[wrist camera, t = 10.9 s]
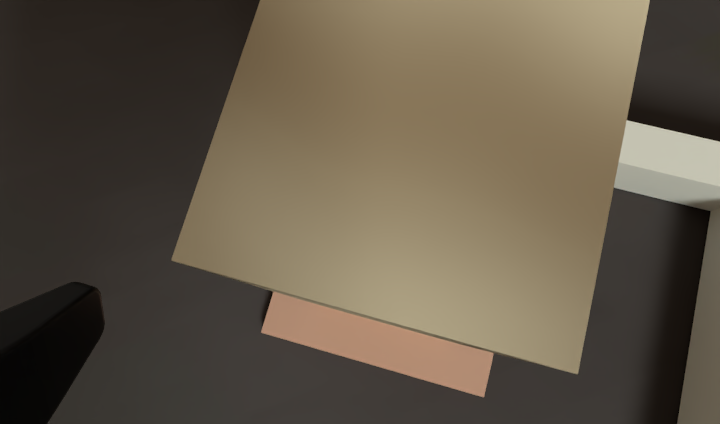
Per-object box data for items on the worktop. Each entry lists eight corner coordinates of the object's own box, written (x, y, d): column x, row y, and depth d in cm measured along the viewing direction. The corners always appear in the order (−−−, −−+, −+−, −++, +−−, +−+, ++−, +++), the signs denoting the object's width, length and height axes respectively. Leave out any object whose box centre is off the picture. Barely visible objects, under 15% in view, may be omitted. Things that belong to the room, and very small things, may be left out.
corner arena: (714, 746, 17) (770, 819, 14) (193, 567, 18) (162, 603, 16) (787, 189, 20) (843, 170, 17) (339, 83, 22) (333, 52, 19)
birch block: (451, 342, 19) (576, 374, 6) (313, 303, 19) (171, 260, 7) (483, 205, 20) (651, -10, 7) (351, 172, 20) (288, -84, 8)
